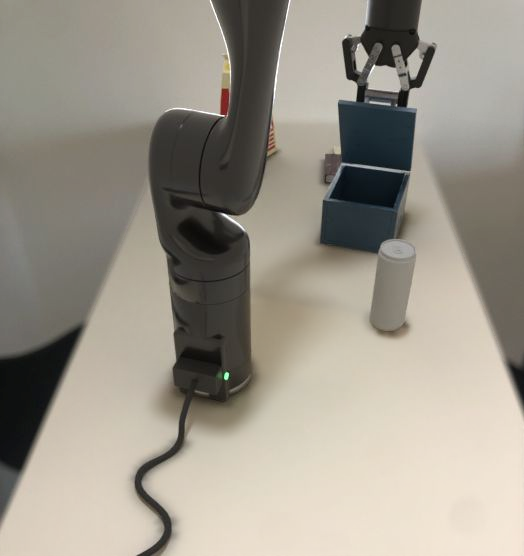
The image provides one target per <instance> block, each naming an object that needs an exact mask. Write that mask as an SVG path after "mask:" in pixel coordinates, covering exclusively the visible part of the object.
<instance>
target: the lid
mask: <svg viewBox="0 0 524 556" xmlns="http://www.w3.org/2000/svg"><path fill="white" fill-rule="evenodd" d="M398 96H399V91H397V90H389V89H388V90H387V89H379V88H369V87H368V88H366V91H365V96H364V100H365V101H364V102H356V100H355V101H354V100H353V101H352V100H346V99H338V101H337V114H338V127H339V143H340V144H339V146H341V161H342V162H344V163H352V164H353V165H359V166H367V167H374V168H381V169H388V170H396V171H403V172H411V171H412V166H413V157H414V156H413V155H414V146H415V145H414V143H415V133H416V123H417V113H418V108H414V107H408V106H407V107H398V106H397V103H398ZM371 102H374V103H371ZM379 103H381V104H379ZM389 104H390V105H389Z"/></svg>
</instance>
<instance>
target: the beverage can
mask: <svg viewBox="0 0 524 556" xmlns="http://www.w3.org/2000/svg"><path fill="white" fill-rule="evenodd" d="M416 261H417V247H416V245H414V244H413V243H412V242H410V241H408V240H405V239H399V238H396V239H391V240H387V241H385V242H383V243H382V244H381V246H380V249H379V253H377V261H376V269H375V275H374V277H375V278H374V284H373V291H372V299H371V305H370V313H369V320H370V322H371V324H372V325H373V326H374V327H375V328H376V329H378V330H380V331H384V332H393V331H396V330H399V329H400V328H401V327H402V326H403V325H404V324H405V321H406V315H407V309H408V303H409V298H410V294H411V288H412V284H413V277H414V272H415V267H416V266H415V265H416Z"/></svg>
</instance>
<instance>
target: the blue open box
mask: <svg viewBox="0 0 524 556" xmlns="http://www.w3.org/2000/svg"><path fill="white" fill-rule="evenodd" d="M410 179H411V171H403V170H395V169H388V168H381V167H373V166H366V165H359V164H353V165H352V164H345V163H342V164H341V166H340V168H339V170H338V171H337V173H336V175H335V177H334V179H333V181H332V183H330V185H329V187H328V188H327V191H326V193H325V195H324V197H323V199H322V206H321V218H320V219H321V222H320V236H319V244H322V245H328V246H329V245H330V246H333V247H340V248H345V249H352V250H359V251H365V252H369V253H375V254H378V253H379V249H380V246H381V244H382V243H383V242H385V241H387V240H391V239H398V238H397V237H398V235H399V231H400V228H401V226H402V223H403V220H404V219H403V218H404V216H405V213H406V204H407V198H408V193H409V185H410Z"/></svg>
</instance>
